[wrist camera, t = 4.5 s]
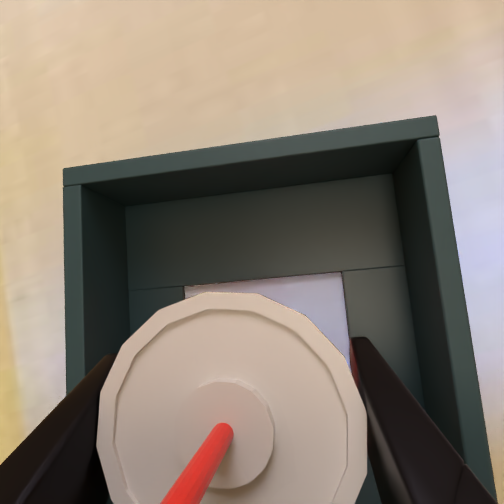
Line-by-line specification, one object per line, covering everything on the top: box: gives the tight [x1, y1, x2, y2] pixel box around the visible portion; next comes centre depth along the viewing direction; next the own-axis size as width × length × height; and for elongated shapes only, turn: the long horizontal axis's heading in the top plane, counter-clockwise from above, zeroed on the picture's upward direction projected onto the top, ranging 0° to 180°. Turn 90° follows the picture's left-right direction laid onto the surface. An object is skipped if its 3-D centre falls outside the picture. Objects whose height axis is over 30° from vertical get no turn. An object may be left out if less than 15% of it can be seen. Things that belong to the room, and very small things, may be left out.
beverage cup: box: [96, 292, 367, 504], centre depth 10 cm, size 6×6×14 cm
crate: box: [63, 116, 498, 504], centre depth 15 cm, size 18×15×4 cm
